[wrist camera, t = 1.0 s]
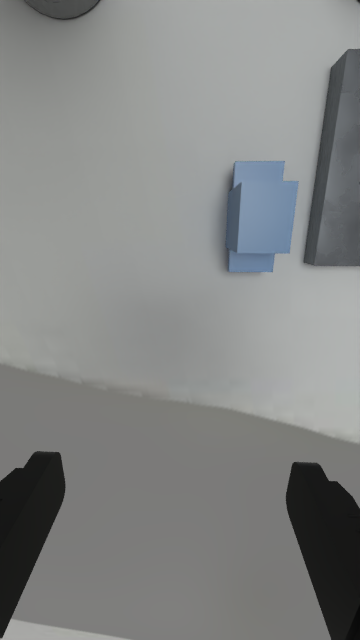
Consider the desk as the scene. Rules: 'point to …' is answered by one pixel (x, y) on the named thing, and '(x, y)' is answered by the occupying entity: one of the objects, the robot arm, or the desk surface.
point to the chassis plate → (338, 172)
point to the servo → (259, 215)
